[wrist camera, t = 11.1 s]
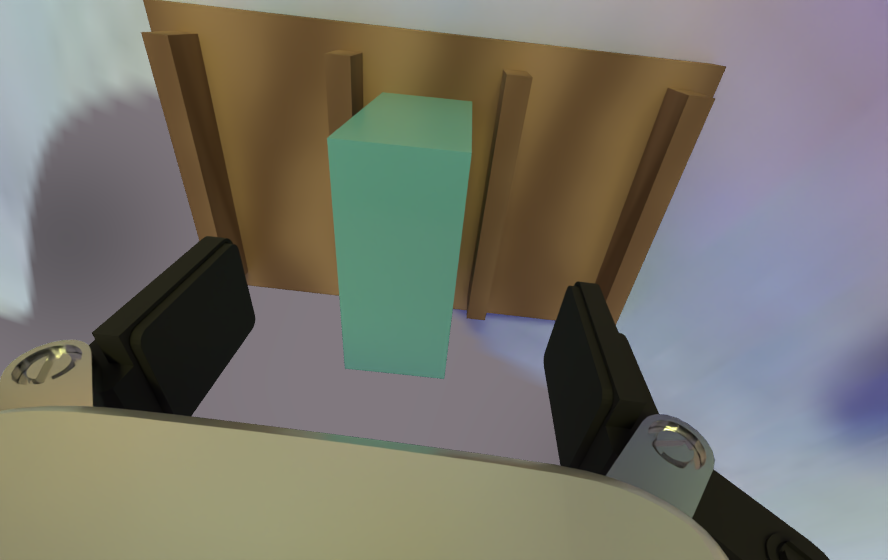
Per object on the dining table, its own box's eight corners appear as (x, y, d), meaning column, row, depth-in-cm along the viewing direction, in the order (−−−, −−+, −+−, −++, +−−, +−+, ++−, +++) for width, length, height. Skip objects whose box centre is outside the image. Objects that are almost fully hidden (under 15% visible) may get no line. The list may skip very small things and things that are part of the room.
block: (472, 101, 18) (471, 152, 11) (452, 272, 23) (444, 378, 16) (382, 92, 18) (326, 137, 11) (382, 264, 23) (344, 368, 16)
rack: (713, 64, 17) (755, 72, 15) (608, 316, 25) (623, 350, 22) (159, -1, 17) (104, -3, 15) (226, 272, 25) (199, 301, 22)
